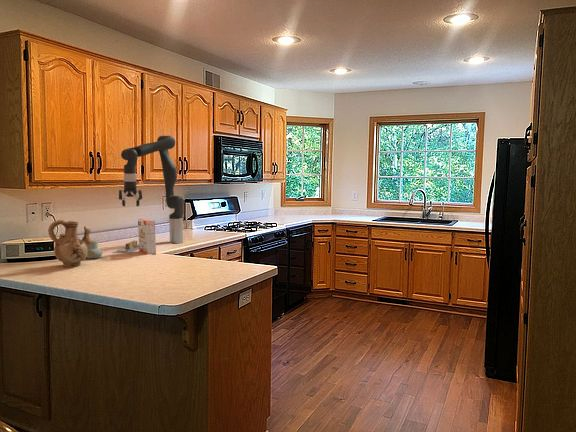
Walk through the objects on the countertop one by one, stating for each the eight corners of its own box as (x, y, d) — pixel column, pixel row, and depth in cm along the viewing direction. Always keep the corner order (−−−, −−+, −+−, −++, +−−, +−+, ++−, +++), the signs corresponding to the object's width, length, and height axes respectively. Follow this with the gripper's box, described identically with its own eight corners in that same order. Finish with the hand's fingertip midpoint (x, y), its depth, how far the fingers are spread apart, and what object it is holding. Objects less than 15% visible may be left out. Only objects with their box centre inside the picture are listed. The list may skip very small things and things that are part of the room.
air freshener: (80, 259, 270) (79, 242, 269) (86, 256, 278) (85, 240, 277) (98, 259, 270) (98, 242, 269) (104, 257, 278) (104, 240, 277)
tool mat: (128, 246, 316) (128, 245, 315) (146, 246, 315) (146, 245, 315) (111, 254, 288) (111, 253, 288) (130, 254, 287) (130, 253, 287)
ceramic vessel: (80, 269, 242) (78, 221, 240) (43, 269, 243) (41, 220, 241) (95, 262, 261) (94, 217, 258) (61, 262, 261) (59, 217, 259)
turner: (131, 246, 312) (130, 240, 312) (140, 246, 312) (139, 240, 312) (117, 252, 290) (117, 245, 290) (127, 252, 290) (127, 245, 290)
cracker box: (138, 252, 295) (137, 218, 293) (147, 251, 298) (146, 218, 296) (146, 255, 283) (145, 220, 281) (156, 254, 287) (155, 220, 285)
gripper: (143, 180, 302) (143, 206, 303) (121, 180, 302) (122, 205, 304) (139, 181, 294) (139, 206, 296) (116, 180, 295) (117, 206, 296)
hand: (130, 206), depth 300 cm, fingers open, 8 cm apart
